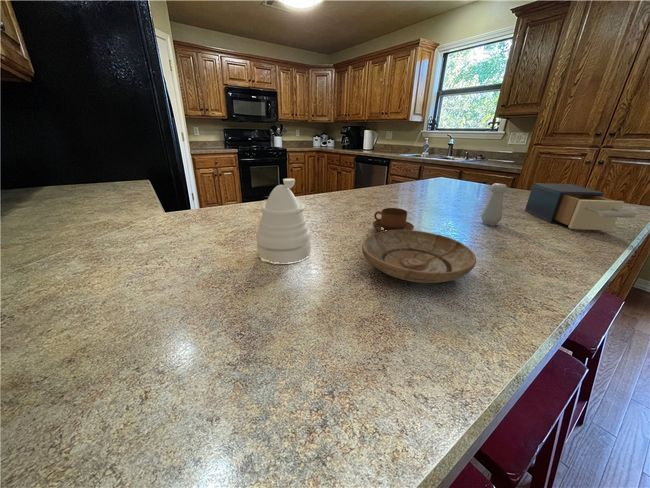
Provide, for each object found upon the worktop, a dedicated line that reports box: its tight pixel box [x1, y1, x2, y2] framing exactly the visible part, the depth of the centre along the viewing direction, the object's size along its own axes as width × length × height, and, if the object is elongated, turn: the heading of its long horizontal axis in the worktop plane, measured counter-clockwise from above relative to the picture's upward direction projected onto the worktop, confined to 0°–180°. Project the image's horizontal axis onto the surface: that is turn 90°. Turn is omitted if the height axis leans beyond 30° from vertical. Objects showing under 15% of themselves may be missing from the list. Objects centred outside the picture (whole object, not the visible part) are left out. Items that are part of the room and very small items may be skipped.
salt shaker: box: [480, 182, 508, 227], centre depth 85 cm, size 6×6×13 cm
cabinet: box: [524, 182, 605, 224], centre depth 93 cm, size 15×13×11 cm
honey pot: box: [256, 178, 312, 263], centre depth 62 cm, size 13×13×18 cm
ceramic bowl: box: [361, 229, 477, 284], centre depth 59 cm, size 23×24×5 cm
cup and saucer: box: [372, 207, 415, 232], centre depth 80 cm, size 12×12×6 cm
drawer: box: [554, 194, 637, 231], centre depth 83 cm, size 20×11×9 cm, turn 174°
